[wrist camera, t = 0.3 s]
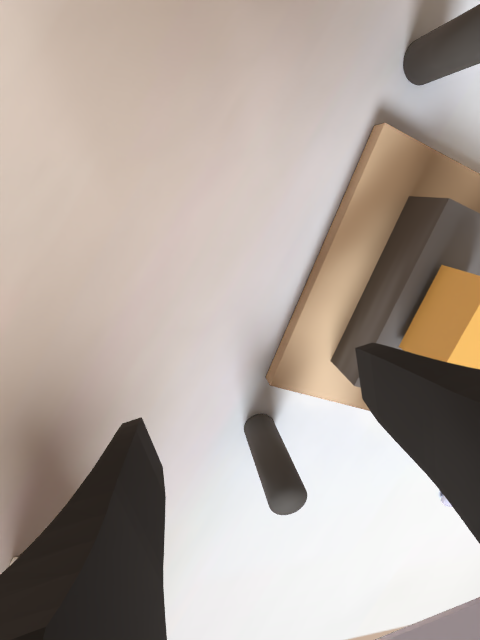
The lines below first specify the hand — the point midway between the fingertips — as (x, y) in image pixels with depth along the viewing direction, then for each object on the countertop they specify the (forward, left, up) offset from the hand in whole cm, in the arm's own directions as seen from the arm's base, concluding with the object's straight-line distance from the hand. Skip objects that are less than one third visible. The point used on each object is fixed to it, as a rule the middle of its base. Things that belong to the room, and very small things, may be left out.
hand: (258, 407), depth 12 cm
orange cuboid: (-9, -4, -5) cm, 12 cm away
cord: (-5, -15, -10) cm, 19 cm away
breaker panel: (-12, -4, -10) cm, 16 cm away
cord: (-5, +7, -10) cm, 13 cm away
